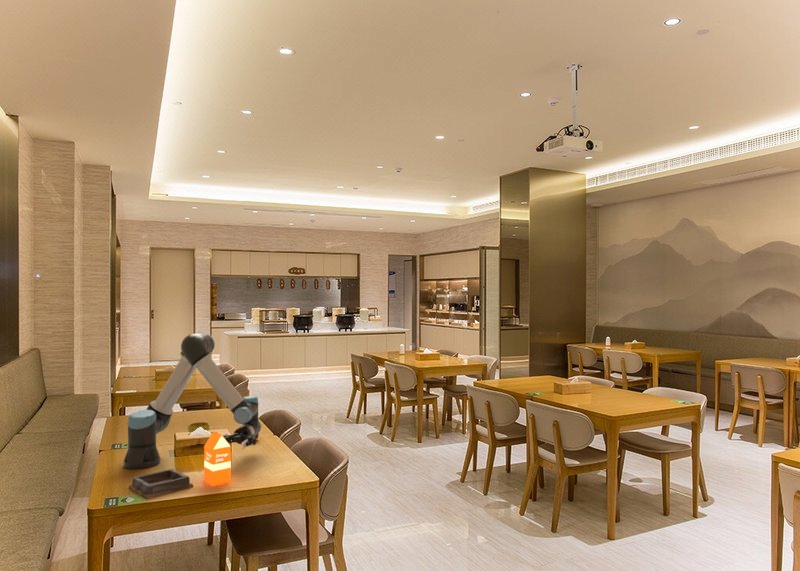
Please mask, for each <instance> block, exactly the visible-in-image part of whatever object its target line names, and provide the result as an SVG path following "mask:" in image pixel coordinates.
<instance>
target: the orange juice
mask: <svg viewBox="0 0 800 571" xmlns="http://www.w3.org/2000/svg"><path fill="white" fill-rule="evenodd" d="M231 448H232V447H231V444H230V443H228V442H227V441H226V440H225V438H224V437H223V435H222V434H221V433H218V432H216V431H214V430H212V432H211V434H210V436H209V437H208V439H207V440H206V442H205V443H204V445H203V450H204V452H203V453H204V454H203V455H204V456H203V458H204V459H203V462H204V463H203V468H204V472H203V473H204V474H203V476H204V478H203V479H204V481H203V482H204V483H206V484H208V483H209V484H208V485H210V486H211V487H215V486H216V485H217V486H221V485H224V483H225V484H228V482H229V483H231V481H232V480H231V479H232V477H231V476H232V475H231V474H232V472H231V471H232V470H231V468H232V460H231V459H232V458H231V457H232V456H231V455H232V454H231V452H232V451H231ZM220 484H221V485H220ZM217 486H216V487H217Z"/></svg>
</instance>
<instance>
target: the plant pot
mask: <svg viewBox="0 0 800 571" xmlns="http://www.w3.org/2000/svg"><path fill="white" fill-rule="evenodd" d="M199 427H202V428H203V429H204V430H207V431H208V432H209V430H210V422H206V421H197V422H192V423H189V424H188V425H187V430H188V433H189V434H190V433H191V432H193V431H195V430H196V429H197V428H199Z"/></svg>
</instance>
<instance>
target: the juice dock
mask: <svg viewBox="0 0 800 571" xmlns="http://www.w3.org/2000/svg"><path fill="white" fill-rule="evenodd" d="M131 481H132V483H131V484H129V485H128V489H130V490H132V491H134V492H135V493H136V494H139V495H141V496H142V497H144V499H151V498H155V497H161V496H164V495H167V494H170V493H175V492H179V491H183V490H187V489H190V487H191V488H193V487H194V484H193V483H191V482H190V476H188V475H186V474H184V473H182V472H179V471H177V470H176V469H173V468H168V469H164V470H160V471H156V472H151V473H147V474H142V475H138V476H133V477H132V480H131ZM186 488H187V489H186ZM182 489H183V490H182Z"/></svg>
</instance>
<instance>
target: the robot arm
mask: <svg viewBox="0 0 800 571" xmlns="http://www.w3.org/2000/svg"><path fill="white" fill-rule="evenodd" d="M215 344H216V343H215V340H214V337H213V336H212V335H211V334H210V333H207V332H203V331H198V332H196V333H191V334H188V335H187V336H185V337H184V338H183V339H182V341H181V344H180V350H181V352H180V356H181V358H180V359H179V361H178V363H177V364H176V366H175V367H174V369H173V371H172V372H171V375H170V376H169V378H168V379H167V380H166V383H165V384H164V386H163V388H162V389H161V391H160V392H159V394H158V396H157V398H156V399H155V400H152V401H151V402H150V403H149V404H148V406H147V408H146V409H142V410H141V409H140V410H138V411H134V412H131V413H130V414H129V415H128V418H127V420H128V421H127V451H126V454H125V456H124V460H123V468H125V469H129V470H140V469H146V468H147V469H148V468H151V467H154V466H157V465H160V463H161V456H160V454H159V453H160V452H159V451H158V448H157V435H158V434H159V433H161V432H162V431H164V430H165V429H166V428H168V426H169V424H170V421H171V418H172V415H173V414H174V410H173V408H174V406H175V405H176V403H177V402H178V400H179V398H180V396H181V395H182V393H183V391H184V389H185V388H186V386H187V385H188V383H189V381H190V380H191V378H192V376H193V375H194V373H195V372H196V370H198V372H199V373H200V374H201V375H202V376H203V378H204V379H205V380H206V382H207V383H208V384H209V385H210V387H211V388H212V389H213V391H215V394H217V395H218V396H219V398H220V399H221V400H222V401H223V403H224V404H225V405H226V407H227V408H228V409H229V411H230V412H231V413H232V414H233V419H234V421H235V423H237V424H239V425H240V426H239V427H238V428H236V429H235V430H234V432H233V433H232V434H228V433H225V434H223V435H222V436H223V437H224V438H225V440H226V441H227V442H228V444H233V443H237V444H239V445H241V448H240V449H241V450H243V451H244V450H245V449H246V448H247V447H249V446H252V445H253V446H256V445H257V439H256V438H255V437H254V436H256V435H257V434H259V433H260V431H261V430H262V424H261V421H260V419H259V397H257V396H256V395H249V396H248V395H247V396H244V397H243V396H242V395H241V394H240V393H239V392H238V390H237V389H236V388H235V386H234V385H233V384H232V382H230V380H229V379H228V378H227V376H226V375H225V374H224V372H223V371H222V370H221V369H220V367H219V366H218V365H217V364H216V362H215V361H214V360H213V359H212V358H211V356H212V355H211V354H212V352H213V351H214V350H215Z"/></svg>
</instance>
